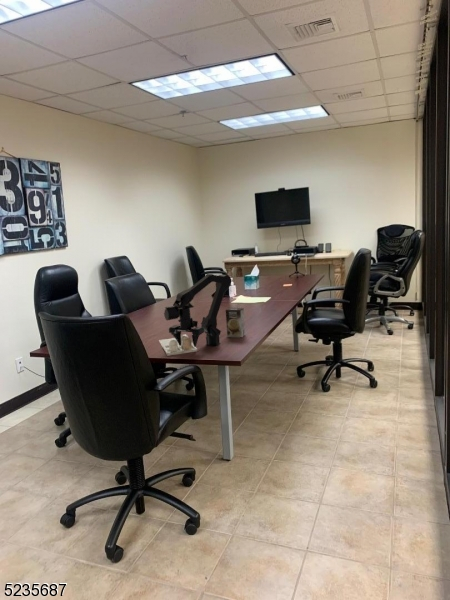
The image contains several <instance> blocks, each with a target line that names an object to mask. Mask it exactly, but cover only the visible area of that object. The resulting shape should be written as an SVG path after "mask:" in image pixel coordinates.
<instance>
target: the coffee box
mask: <svg viewBox="0 0 450 600" xmlns="http://www.w3.org/2000/svg"><path fill="white" fill-rule="evenodd" d="M225 318H226V319H225V321H226V322H225V323H226V337H228V338H240V337H242V338H243V337H244V336H246V327H245V311H244V307H228V308H226V309H225Z"/></svg>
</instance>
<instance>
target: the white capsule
mask: <svg viewBox="0 0 450 600" xmlns="http://www.w3.org/2000/svg"><path fill="white" fill-rule="evenodd" d="M169 349H170V353H172V352H178V343H177V341H176V340H171V341H170V342H169Z"/></svg>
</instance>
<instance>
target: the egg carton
mask: <svg viewBox="0 0 450 600" xmlns="http://www.w3.org/2000/svg"><path fill="white" fill-rule="evenodd" d="M171 340H176V339H175V337H172V338H163V339H158V342H159V343H160V345H161V347H162V349H163V350H164V352H165V354H166V356H169V357H170V356H174V355H175V356H176V355H182V354H187V353H188V354H189V353H194V352H198V348H197V347H194V344H193V342H192V350H185V351H184V347H181V345H179V344H178V352H172V353H170V349H169V342H170V341H171ZM176 341H177V340H176ZM177 343H178V342H177Z"/></svg>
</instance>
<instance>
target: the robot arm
mask: <svg viewBox="0 0 450 600" xmlns="http://www.w3.org/2000/svg"><path fill="white" fill-rule="evenodd" d="M213 282H214V283H215V292H214V295H213V298H212V302H211V305H210V308H209V309H208V310H209V311H208V313H207V315H206V316H203V317H202V320H201V323H200V324H201V325H200V326H198V320H194V319H193V317H191V308H195V306H194V305H193V304H192V303H191V302H192V301H193V299H194V298H195V296H196V295H197V294H199V293H200V292H201V291H203V290H204V289H205V288H206V287H207V286H209V285H210V284H211V283H213ZM231 283H232V278H231V276H229V275H226V274H218V275H217V274H216V275H215V274H213V273H207V274H205V275H204V276H203V277H202V278H201V279H200V280H198V281H197V282H196V283H194V284H193V285H192V286H190V287H189V288H188V289H184V290H182V291H180V292H178V293H177V295H176V299H175V300H174V302H173V304H172V305H171V306H165V309H164V312H163V314H164V319H165V320H166V321H171V320H177V319H178V321H177V322H179V325H178V324H177V325H173V326H170V327H169V329H168V333H169V334H170V335H172V336H173V338H175V339H176V340H177V342H178V344H179V345H181V336H182V333H183V332H186V333H191V334H192V335H191V340H192V343H193V344H194V347H196V346H197V344H198V340H199V337H200V335H202V334H203V333H204V334H206V336H205V340H206V344H205V346H206V347H207V346H208V347H215V348H216V347H217V346H219V345H221V344H222V342H220V335H221V332H222V331H221V330H220V329H219V328H218V319H217V317H218V314H219V311H220V308H221V306H222V302H223V298H224V296H225V293H226V292H227V291H228V290H229V288H230V285H231ZM196 348H197V347H196Z"/></svg>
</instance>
